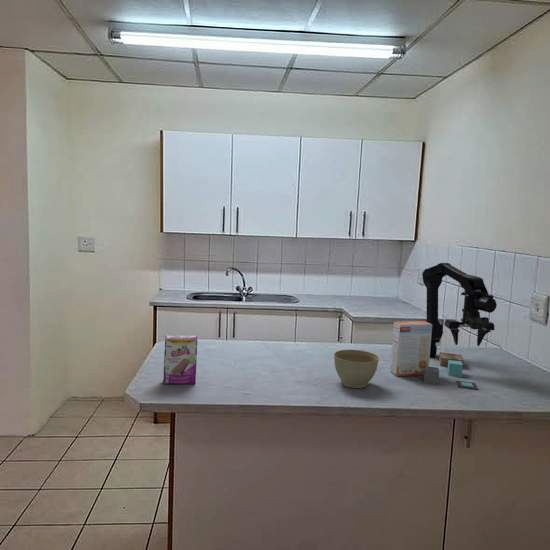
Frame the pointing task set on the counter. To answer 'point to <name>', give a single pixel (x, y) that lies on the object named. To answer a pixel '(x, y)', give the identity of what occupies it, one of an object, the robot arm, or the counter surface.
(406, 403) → the counter surface
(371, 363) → the planter bowl
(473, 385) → the tile
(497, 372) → the counter surface
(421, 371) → the cracker box
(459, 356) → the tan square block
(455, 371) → the teal cube
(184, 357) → the candy bar box
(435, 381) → the charcoal cube
